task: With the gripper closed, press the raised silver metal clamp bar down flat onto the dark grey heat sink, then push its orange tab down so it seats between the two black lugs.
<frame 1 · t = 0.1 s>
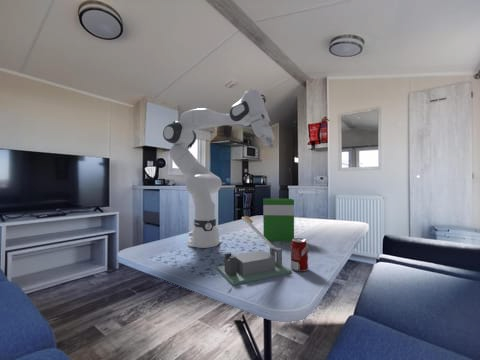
hand: (269, 146, 117), 52 cm above the table, tool tilted 20°, fingers open, 8 cm apart
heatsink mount: (253, 270, 96), on the table
soda can: (299, 269, 97), on the table
green cereal box: (278, 239, 143), on the table
strap: (261, 234, 97), point 14 cm above the table, hinge at 45.0°
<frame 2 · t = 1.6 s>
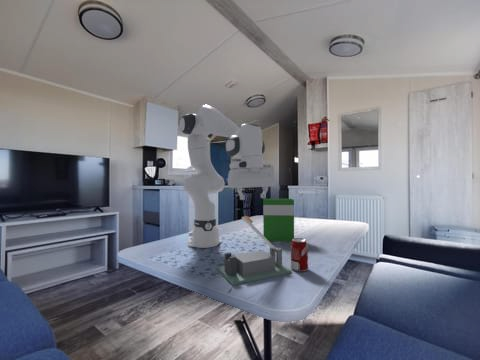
hand: (253, 198, 95), 29 cm above the table, tool pointing down, fingers open, 8 cm apart
nothing on the table moved.
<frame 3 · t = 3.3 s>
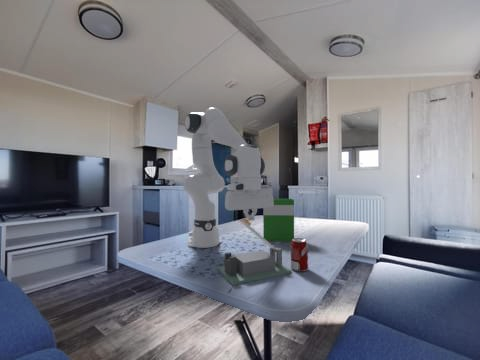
hand: (250, 220, 95), 20 cm above the table, tool pointing down, fingers closed
strap: (260, 235, 97), point 14 cm above the table, hinge at 41.2°, touching gripper
everything else where it was.
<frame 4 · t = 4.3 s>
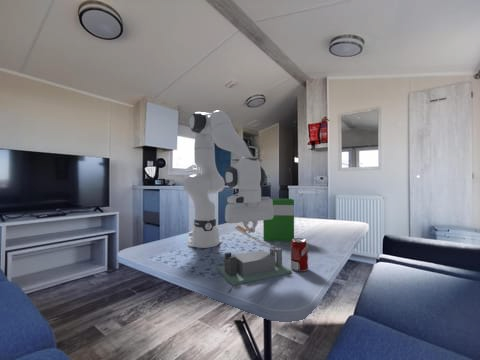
hand: (250, 232, 95), 16 cm above the table, tool pointing down, fingers closed
strap: (257, 239, 96), point 12 cm above the table, hinge at 31.5°, touching gripper
everything else where it was.
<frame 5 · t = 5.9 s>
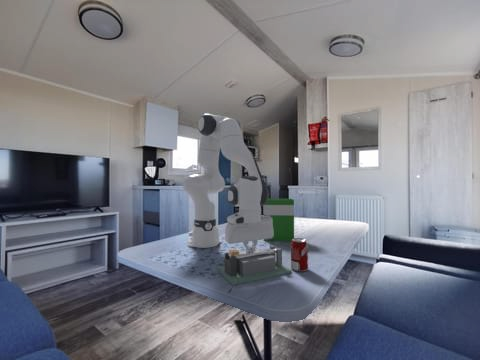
hand: (250, 251, 95), 8 cm above the table, tool pointing down, fingers closed
strap: (254, 251, 96), point 8 cm above the table, hinge at 3.3°, touching gripper
everything else where it was.
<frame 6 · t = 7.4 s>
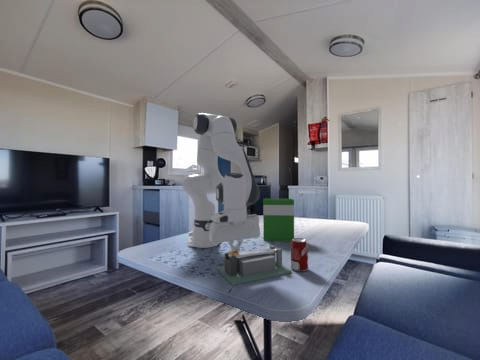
hand: (235, 251, 92), 9 cm above the table, tool pointing down, fingers closed, pressing on strap
strap: (254, 252, 96), point 8 cm above the table, hinge at 2.4°, touching gripper
everything else where it was.
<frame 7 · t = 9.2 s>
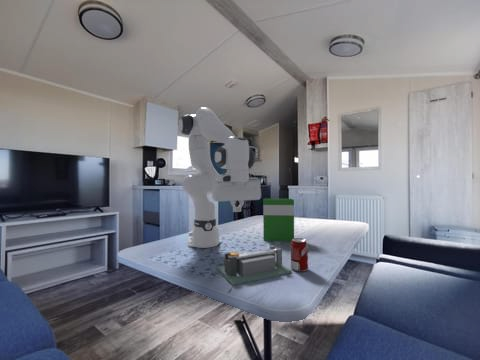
hand: (237, 211, 96), 24 cm above the table, tool pointing down, fingers closed
strap: (254, 252, 96), point 7 cm above the table, hinge at 0.4°
everything else where it was.
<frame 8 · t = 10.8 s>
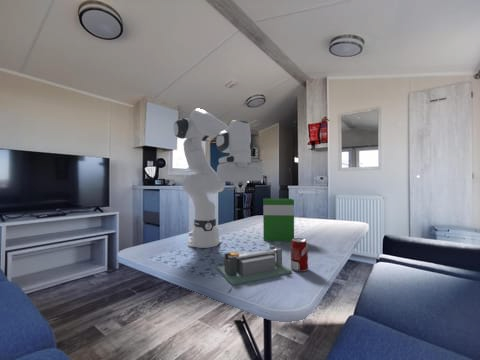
hand: (240, 192, 100), 31 cm above the table, tool pointing down, fingers closed
nothing on the table moved.
at the end: strap at +0° (first picture: +45°); soda can tilted 0° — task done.
